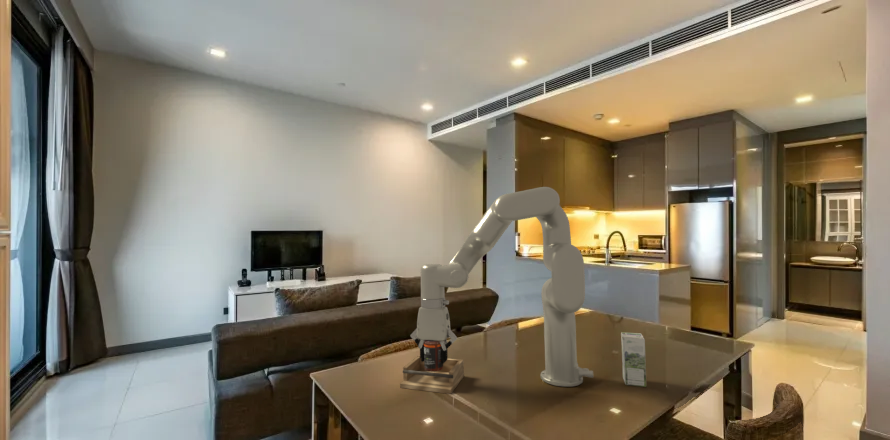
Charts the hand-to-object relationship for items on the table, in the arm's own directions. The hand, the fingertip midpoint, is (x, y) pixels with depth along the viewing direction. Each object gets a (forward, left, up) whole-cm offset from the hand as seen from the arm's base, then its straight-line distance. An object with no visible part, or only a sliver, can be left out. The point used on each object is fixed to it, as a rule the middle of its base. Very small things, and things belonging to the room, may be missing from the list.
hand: (433, 360), depth 114 cm
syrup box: (-59, -15, -6) cm, 61 cm away
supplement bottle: (0, 0, -3) cm, 3 cm away
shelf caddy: (0, +1, -6) cm, 6 cm away
